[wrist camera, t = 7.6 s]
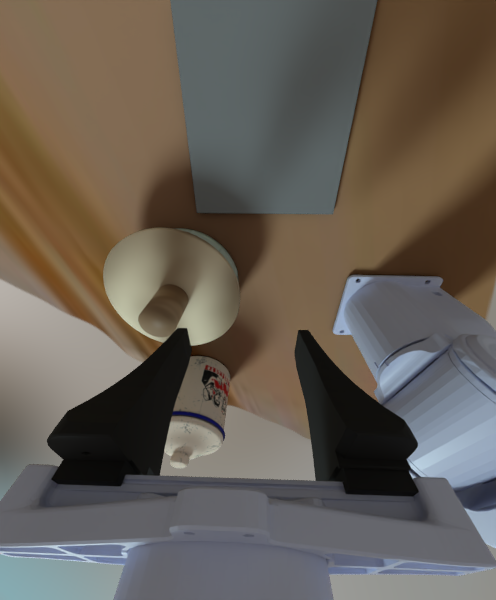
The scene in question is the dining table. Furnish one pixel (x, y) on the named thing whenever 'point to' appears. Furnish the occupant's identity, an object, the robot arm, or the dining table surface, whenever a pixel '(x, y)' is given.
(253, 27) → the mat
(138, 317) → the lid
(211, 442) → the teacup with lid
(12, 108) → the dining table surface
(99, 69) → the dining table surface
